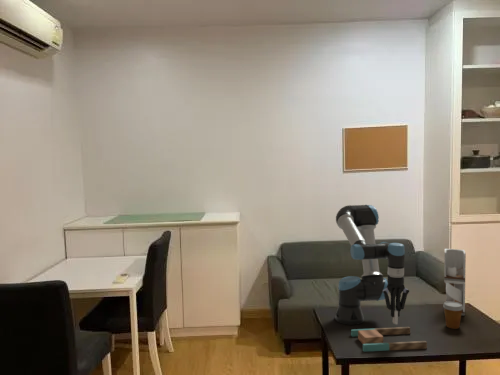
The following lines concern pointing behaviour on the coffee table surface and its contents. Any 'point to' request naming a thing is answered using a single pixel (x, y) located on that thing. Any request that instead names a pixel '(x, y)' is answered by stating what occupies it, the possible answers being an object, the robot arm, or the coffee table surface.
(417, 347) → the lane walls
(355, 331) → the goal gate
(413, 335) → the coffee table surface
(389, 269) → the robot arm
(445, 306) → the disposable coffee cup
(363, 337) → the wooden block
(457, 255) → the white open shelf
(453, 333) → the coffee table surface
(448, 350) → the coffee table surface
